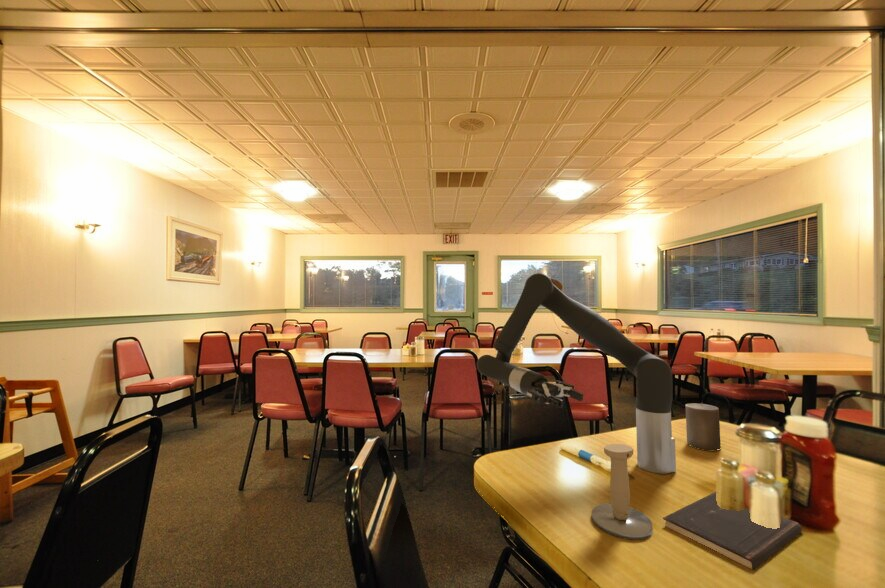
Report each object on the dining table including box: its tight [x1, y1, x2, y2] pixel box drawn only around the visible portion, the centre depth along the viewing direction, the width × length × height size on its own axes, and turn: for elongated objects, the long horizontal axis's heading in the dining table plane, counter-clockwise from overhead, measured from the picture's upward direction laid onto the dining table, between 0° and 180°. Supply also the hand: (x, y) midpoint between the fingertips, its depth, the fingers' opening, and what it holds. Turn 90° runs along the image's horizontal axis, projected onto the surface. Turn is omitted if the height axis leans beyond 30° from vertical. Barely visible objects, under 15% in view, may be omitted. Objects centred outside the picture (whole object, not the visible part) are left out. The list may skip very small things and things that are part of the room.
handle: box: [603, 443, 634, 520], centre depth 81 cm, size 5×6×15 cm
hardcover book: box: [662, 491, 803, 571], centre depth 78 cm, size 16×23×2 cm
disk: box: [591, 502, 654, 541], centre depth 81 cm, size 12×12×1 cm
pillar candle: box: [684, 402, 722, 451], centre depth 127 cm, size 10×10×15 cm
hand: (572, 401), depth 98 cm, fingers open, 8 cm apart
